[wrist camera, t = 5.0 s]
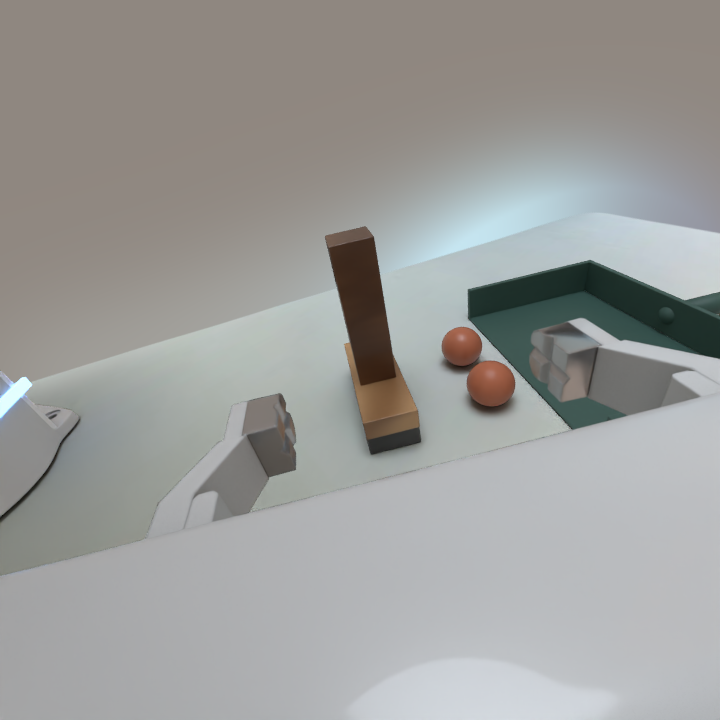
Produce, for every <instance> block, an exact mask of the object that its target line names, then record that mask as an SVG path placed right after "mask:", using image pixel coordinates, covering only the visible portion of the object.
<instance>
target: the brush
mask: <svg viewBox="0 0 720 720" xmlns="http://www.w3.org/2000/svg"><path fill="white" fill-rule="evenodd" d="M325 239H326V243H327V248H328V252H329V256H330V260H331V264H332V269H333V272H334V277H335V281H336V286H337V290H338V294H339V298H340V303H341V307H342V311H343V315H344V320H345V324H346V328H347V332H348V337H349V341H350V343H346V344H344V345H345V350H346V354H347V358H348V362H349V367H350V371H351V375H352V379H353V384H354V388H355V392H356V396H357V400H358V405H359V409H360V413H361V417H362V422H363V426H364V430H365V434H366V438H367V442H368V446H369V450H370V454H374V453H378V452H382V451H386V450H390V449H394V448H398V447H402V446H406V445H410V444H414V443H418V442H421V437H420V429H419V427H420V424H419V416H418V410H417V407H416V405H415V403H414V401H413V398H412V396H411V394H410V392H409V389H408V387H407V385H406V383H405V380H404V378H403V376H402V374H401V371H400V369H399V367H398V365H397V362H396V360H395V358H394V356H393V353H392V347H391V340H390V334H389V328H388V322H387V316H386V309H385V303H384V297H383V291H382V284H381V278H380V272H379V266H378V260H377V253H376V247H375V241H374V236H373V235H372V234H371V232H370V231H369V230H368V229H367V227H361V228H356V229H352V230H348V231H343V232H339V233H335V234H331V235H326V236H325Z"/></svg>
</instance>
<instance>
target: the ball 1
mask: <svg viewBox="0 0 720 720" xmlns="http://www.w3.org/2000/svg"><path fill="white" fill-rule="evenodd" d="M481 351H482V342H481V339H480V337H479V335H478V334H477V333H476V332H475V331H474V330H472V329H470V328H466V327H458V328H454V329H452V330H451V331H449V332H448V333H447V334H446V335H445V337H444V339H443V341H442V352H443V355H444V357H445V358H446V359H447V360H448V361H449V362H450V363H452V364H454V365H457V366H466V365H469V364H472V363H473V362H475V361H476V360H477V359H478V357H479V356H480V354H481Z"/></svg>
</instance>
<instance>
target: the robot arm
mask: <svg viewBox="0 0 720 720" xmlns="http://www.w3.org/2000/svg"><path fill="white" fill-rule="evenodd" d="M531 343H532V344H533V346H534V349H533V350H532V351H531V353H530V356H529V364H530V367H531V371H532V373H533V374H534V376H535V377H536V378H537V379H538V380H539V381H540V382H543V383H546V384H548V390H549V391H550V392H551V393H552V394H553V395H554V396H555V397H556V398H557V399H558V400H559V401H560V402H566V401H570V400H575V399H579V398H583V397H588V398H589V399H592V400H594V401H596V402H599V403H601V404H603V405H605V406H608V407H610V408H612V409H614V410H617V411H619V412H621V413H624V414H626V415H628V416H625V417H621V418H617V419H613V420H609V421H605V422H601V423H597V424H593V425H590V426H586V427H582V428H578V429H574V430H570V431H566V432H562V433H558V434H554V435H550V436H546V437H542V438H539V439H535V440H531V441H527V442H523V443H519V444H515V445H511V446H507V447H503V448H499V449H496V450H492V451H488V452H484V453H480V454H476V455H472V456H468V457H464V458H461V459H457V460H453V461H449V462H445V463H441V464H437V465H433V466H430V467H426V468H422V469H418V470H414V471H410V472H406V473H402V474H398V475H394V476H390V477H387V478H383V479H379V480H375V481H371V482H367V483H363V484H359V485H355V486H351V487H347V488H343V489H340V490H336V491H332V492H328V493H324V494H320V495H316V496H312V497H308V498H304V499H300V500H297V501H293V502H289V503H285V504H281V505H277V506H273V507H269V508H265V509H261V510H257V511H253V512H250V513H249V511H250V510H251V508H252V506H253V505H254V503H255V501H256V500H257V498H258V496H259V495H260V493H261V491H262V490H263V488H264V486H265V485H266V483H267V481H268V480H269V477H272V476H276V475H279V474H283V473H286V472H290V471H294V470H296V452H295V449H294V447H293V446H294V444H295V443H296V433H295V427H294V423H293V420H292V417H291V415H290V413H288V412H286V402H285V400H284V398H283V395H282V394H281V393H279V394H275V395H270V396H266V397H261V398H257V399H253V400H249V401H244V402H240V403H236V404H233V405H232V406H231V409H230V413H229V418H228V422H227V426H226V430H225V434H224V438H223V441H220V442H218V443H217V444H216V445H215V446H214V447H213V448H212V449H211V450H210V451H209V452H208V453H207V454H206V455H205V456H204V457H203V458H202V459H201V460H200V461H199V462H198V463H197V464H196V465H195V466H194V467H193V468H192V469H191V470H190V471H189V472H188V473H187V474H186V475H185V476H184V477H183V478H182V479H181V480H180V481H179V482H178V483H177V484H176V486H175V487H174V488H173V489H172V490H171V491H170V492H169V493H168V494H167V495H166V496H165V497H164V498H163V499H162V500H161V501H160V502H159V503H158V505H157V508H156V510H155V513H154V516H153V518H152V521H151V524H150V526H149V529H148V532H147V534H146V537H145V539H144V540H140V541H136V542H132V543H128V544H124V545H120V546H116V547H113V548H109V549H105V550H101V551H97V552H93V553H89V554H85V555H81V556H77V557H73V558H70V559H66V560H62V561H58V562H54V563H50V564H46V565H42V566H38V567H34V568H30V569H26V570H22V571H18V572H14V573H10V574H5V575H1V576H0V720H720V359H718V358H713V357H708V356H703V355H698V354H693V353H688V352H683V351H678V350H673V349H668V348H663V347H658V346H653V345H648V344H643V343H638V342H633V341H628V340H623V341H620V340H618V339H616V338H615V337H613V336H612V335H610V334H608V333H607V332H605V331H604V330H602V329H600V328H599V327H597V326H596V325H594V324H593V323H591V322H589V321H588V320H586V319H583V318H578V319H574V320H571V321H567V322H564V323H561V324H557V325H554V326H550V327H546V328H542V329H538V330H534V331H533V333H532V335H531ZM31 386H32V384H31V383H30V382H29V381H28V379H27V378H26V377H23V378H21V379H20V380H19V381H18V382H17V383H16V384H14V383H13V382H12V381H11V380H10V379H9V378H8V377H7V376H6V375H5V374H4V373H3V372H2V371H1V370H0V516H1V515H3V514H4V513H5V512H6V511H7V510H9V509H10V508H11V507H12V506H13V505H14V504H15V503H16V502H18V501H19V500H20V499H21V498H22V497H23V496H24V495H25V494H26V493H27V492H28V491H29V490H30V489H31V488H32V487H33V486H34V484H35V483H36V482H37V481H38V480H39V479H40V477H41V476H42V475H43V474H44V472H45V471H46V470H47V468H48V467H49V465H50V464H51V462H52V460H53V458H54V456H55V454H56V452H57V449H58V447H59V444H60V442H61V441H62V439H63V438H64V437H65V436H66V435H67V434H68V433H69V431H70V430H71V429H72V428H73V427H74V426H75V424H76V423H77V422H78V420H79V416H77V415H76V414H75V413H74V412H73V411H72V410H70V409H65V408H58V407H52V406H46V405H39V404H34V403H33V402H32V401H31V400H30V399H29V398H28V397H27V396H26V395H25V394H24V393H25V392H26V391H27V390H28V389H29V388H30V387H31Z"/></svg>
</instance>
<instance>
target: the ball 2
mask: <svg viewBox="0 0 720 720" xmlns="http://www.w3.org/2000/svg"><path fill="white" fill-rule="evenodd" d="M467 389H468V392H469V394H470V395H471V397H472V398H473V399H474V400H475V401H476V402H478V403H480V404H482V405H485V406H498V405H501V404H503V403H505V402H506V401H508V400H509V399H510V398H511V396H512V395H513V393H514V390H515V379H514V376H513V373H512V372H511V370H510V369H509V368H508V367H507V366H505V365H504V364H502V363H500V362H497V361H484V362H481V363H479V364H477V365H476V366H474V367H473V368H472V370H471V371H470V373H469V375H468V378H467Z"/></svg>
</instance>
